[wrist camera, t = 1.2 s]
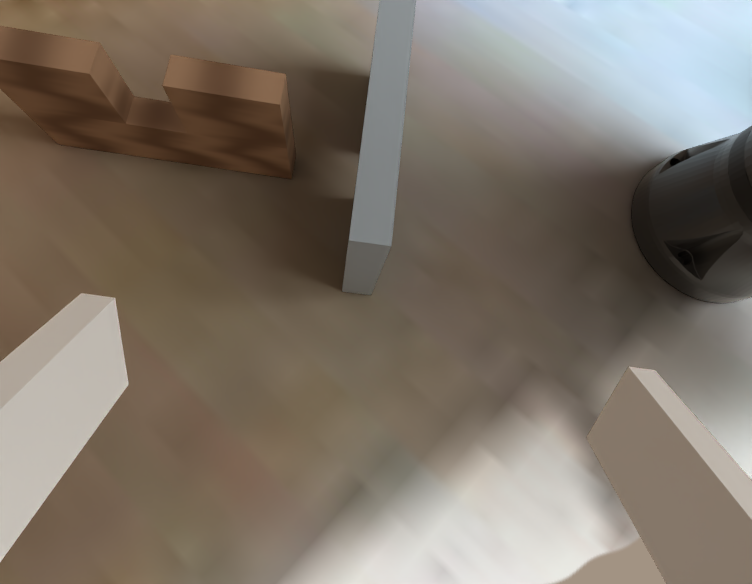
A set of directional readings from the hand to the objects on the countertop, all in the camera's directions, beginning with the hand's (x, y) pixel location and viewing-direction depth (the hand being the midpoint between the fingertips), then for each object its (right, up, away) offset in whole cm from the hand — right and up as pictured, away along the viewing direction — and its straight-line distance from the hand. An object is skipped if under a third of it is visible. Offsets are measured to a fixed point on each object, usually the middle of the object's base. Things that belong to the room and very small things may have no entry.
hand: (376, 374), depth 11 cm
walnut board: (-17, +15, +27) cm, 35 cm away
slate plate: (-1, +13, +28) cm, 31 cm away
